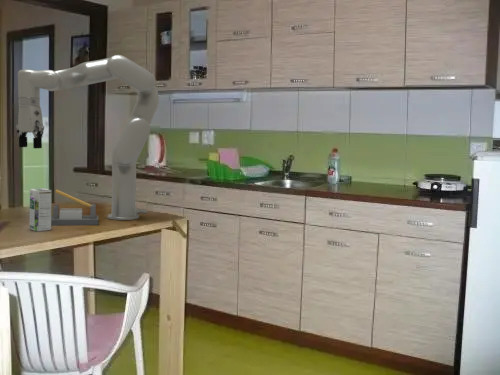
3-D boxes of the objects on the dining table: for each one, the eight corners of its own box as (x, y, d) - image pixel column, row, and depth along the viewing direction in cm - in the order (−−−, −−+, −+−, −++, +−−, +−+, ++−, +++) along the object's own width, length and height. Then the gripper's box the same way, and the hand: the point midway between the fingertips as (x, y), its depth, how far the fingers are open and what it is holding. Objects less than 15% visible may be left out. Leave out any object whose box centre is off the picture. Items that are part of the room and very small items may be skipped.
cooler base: (98, 220, 213) (98, 202, 212) (98, 225, 203) (98, 206, 202) (50, 220, 208) (50, 202, 207) (47, 225, 198) (47, 206, 197)
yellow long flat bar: (93, 208, 208) (95, 205, 208) (93, 209, 205) (95, 207, 205) (55, 191, 204) (56, 188, 204) (54, 192, 201) (56, 189, 201)
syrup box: (28, 229, 190) (28, 188, 189) (45, 227, 194) (45, 187, 193) (35, 231, 186) (35, 190, 185) (52, 230, 190) (52, 189, 189)
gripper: (51, 103, 202) (52, 148, 204) (25, 103, 212) (26, 146, 214) (33, 102, 196) (34, 149, 198) (7, 102, 206) (8, 146, 208)
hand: (30, 147), depth 206 cm, fingers open, 9 cm apart
